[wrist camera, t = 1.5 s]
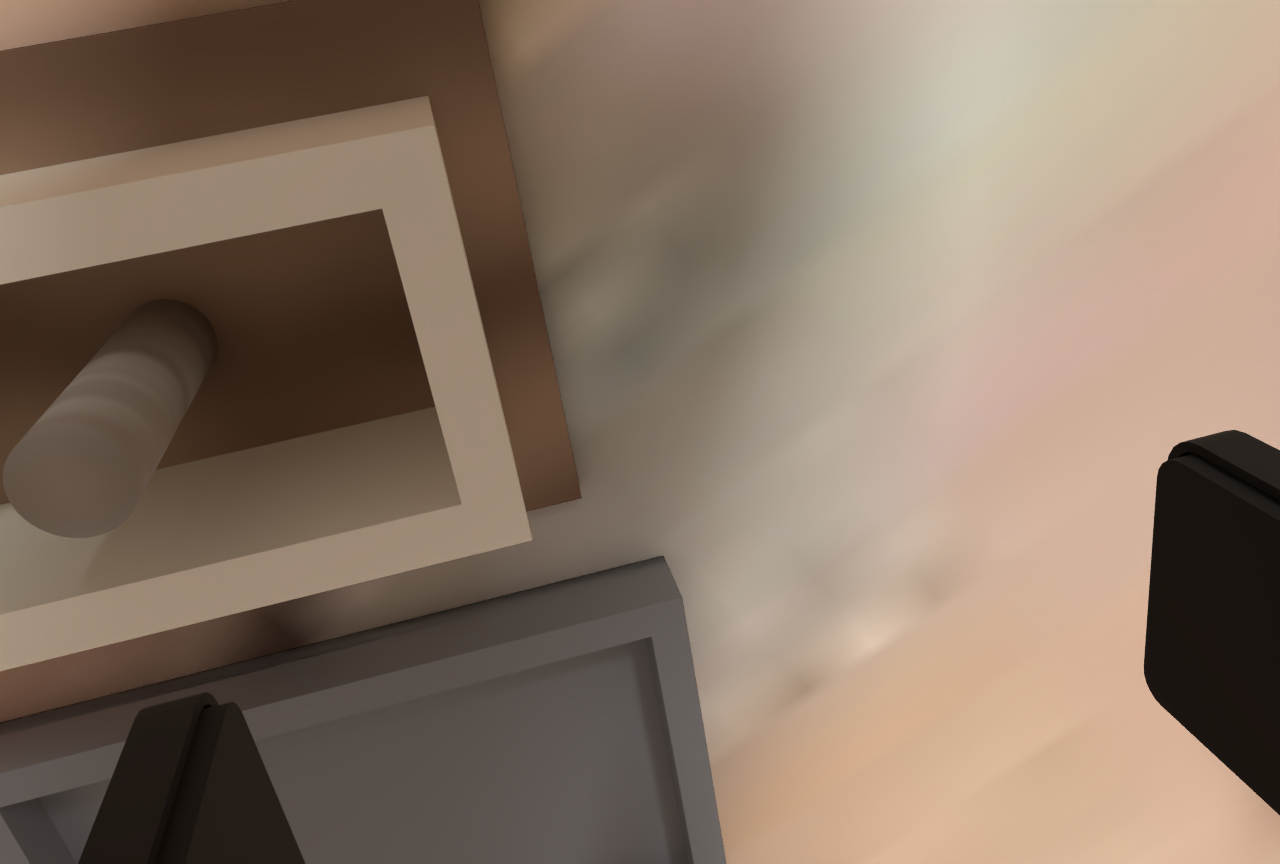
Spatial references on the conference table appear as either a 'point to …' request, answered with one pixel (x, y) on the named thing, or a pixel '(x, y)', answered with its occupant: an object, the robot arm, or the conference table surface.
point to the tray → (435, 737)
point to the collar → (283, 471)
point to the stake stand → (254, 260)
